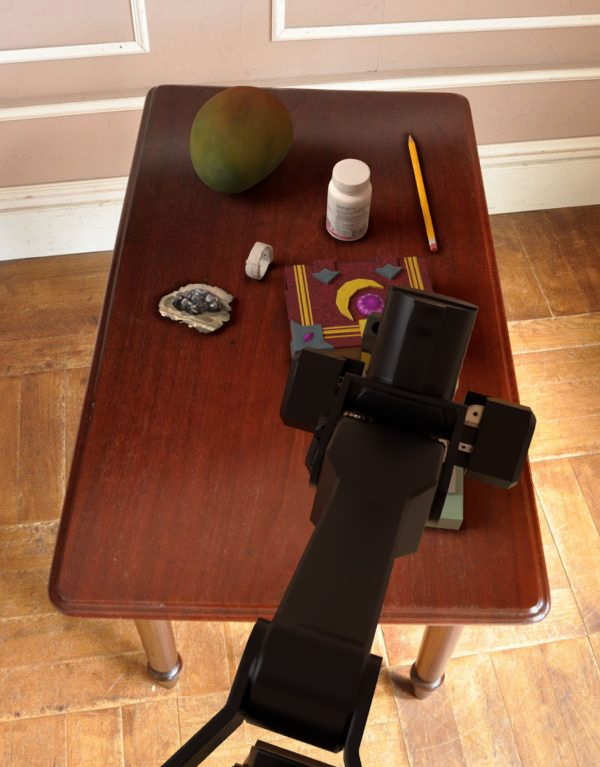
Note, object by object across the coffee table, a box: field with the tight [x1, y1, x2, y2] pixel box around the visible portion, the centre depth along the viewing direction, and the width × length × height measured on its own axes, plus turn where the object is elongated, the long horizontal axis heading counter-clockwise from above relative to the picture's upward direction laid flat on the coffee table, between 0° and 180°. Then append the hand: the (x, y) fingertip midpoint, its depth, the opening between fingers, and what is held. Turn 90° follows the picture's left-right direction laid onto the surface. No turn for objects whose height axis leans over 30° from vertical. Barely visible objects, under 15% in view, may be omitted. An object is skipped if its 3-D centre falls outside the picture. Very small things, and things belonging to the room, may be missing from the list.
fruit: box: [189, 85, 295, 195], centre depth 98 cm, size 12×13×10 cm
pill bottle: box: [325, 158, 373, 242], centre depth 94 cm, size 5×5×8 cm
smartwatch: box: [245, 241, 274, 281], centre depth 92 cm, size 4×2×4 cm, turn 158°
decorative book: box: [284, 253, 434, 371], centre depth 88 cm, size 11×16×5 cm
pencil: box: [408, 135, 439, 252], centre depth 101 cm, size 1×19×1 cm, turn 4°
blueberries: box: [157, 283, 235, 334], centre depth 90 cm, size 7×8×2 cm
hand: (412, 396), depth 73 cm, fingers closed on cup, 7 cm apart
